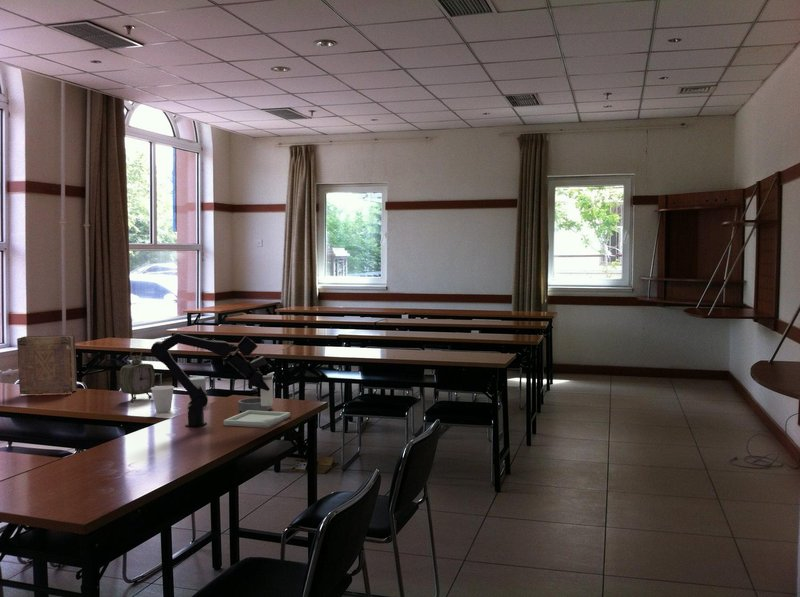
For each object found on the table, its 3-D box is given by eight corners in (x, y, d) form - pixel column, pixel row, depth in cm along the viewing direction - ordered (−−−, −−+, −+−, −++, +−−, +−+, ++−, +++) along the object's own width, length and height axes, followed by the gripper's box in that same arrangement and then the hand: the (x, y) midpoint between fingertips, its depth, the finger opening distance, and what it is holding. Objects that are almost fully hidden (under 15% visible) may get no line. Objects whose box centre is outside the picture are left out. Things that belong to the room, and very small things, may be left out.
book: (77, 391, 370) (75, 334, 369) (72, 394, 361) (70, 336, 360) (25, 393, 366) (23, 336, 364) (19, 396, 357) (16, 338, 355)
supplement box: (205, 402, 334) (204, 376, 333) (206, 405, 327) (205, 378, 326) (189, 403, 331) (188, 377, 331) (190, 406, 324) (189, 379, 324)
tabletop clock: (131, 403, 334) (129, 351, 333) (118, 401, 339) (116, 350, 337) (155, 398, 347) (153, 348, 345) (143, 396, 351) (141, 347, 350)
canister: (261, 406, 290) (260, 377, 290) (260, 404, 295) (259, 375, 295) (273, 405, 292) (273, 377, 291) (272, 403, 297) (272, 375, 296)
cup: (167, 414, 308) (166, 389, 307) (147, 413, 310) (146, 389, 309) (179, 409, 318) (178, 385, 317) (159, 409, 320) (158, 385, 319)
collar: (261, 413, 307) (260, 404, 307) (232, 411, 311) (232, 402, 311) (275, 406, 321) (275, 398, 320) (248, 405, 325) (248, 397, 324)
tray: (267, 427, 280) (267, 422, 279) (223, 425, 285) (223, 420, 285) (290, 417, 299) (290, 412, 299) (248, 414, 305) (248, 410, 304)
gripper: (256, 352, 282) (284, 378, 286) (252, 347, 300) (279, 371, 304) (236, 373, 280) (265, 398, 284) (234, 366, 298) (261, 390, 302)
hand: (268, 389), depth 294 cm, fingers closed on canister, 5 cm apart
